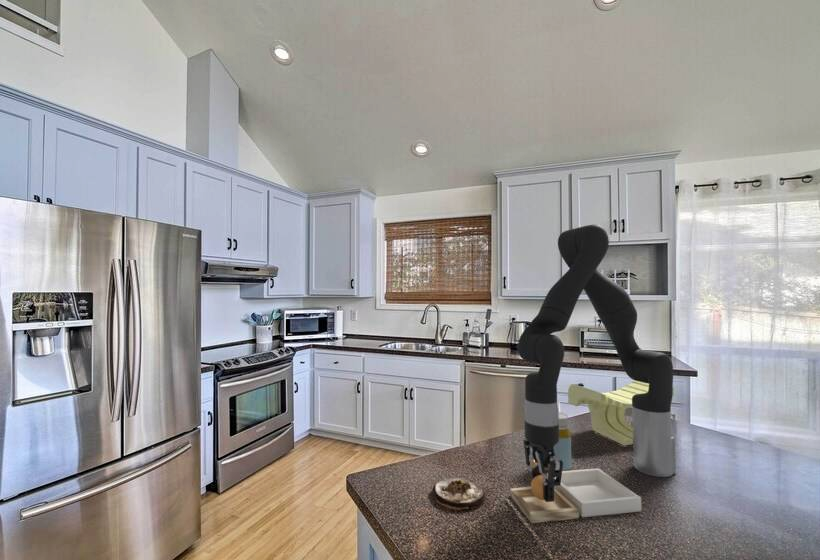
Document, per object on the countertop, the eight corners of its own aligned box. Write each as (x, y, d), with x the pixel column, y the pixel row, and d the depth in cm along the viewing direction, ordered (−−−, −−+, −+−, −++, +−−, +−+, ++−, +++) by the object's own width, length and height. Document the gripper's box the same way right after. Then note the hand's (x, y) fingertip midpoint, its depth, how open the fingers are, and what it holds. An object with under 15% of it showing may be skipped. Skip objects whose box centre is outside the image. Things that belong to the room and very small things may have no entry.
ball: (546, 492, 89) (546, 470, 89) (558, 503, 84) (558, 480, 84) (527, 493, 88) (526, 472, 88) (537, 505, 83) (537, 482, 83)
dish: (598, 481, 98) (598, 468, 98) (641, 513, 84) (641, 497, 84) (547, 486, 96) (547, 472, 96) (582, 519, 81) (582, 503, 82)
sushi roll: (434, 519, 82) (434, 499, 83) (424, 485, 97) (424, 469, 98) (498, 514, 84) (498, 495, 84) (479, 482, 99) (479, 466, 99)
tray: (552, 494, 92) (551, 484, 92) (579, 520, 81) (578, 509, 81) (510, 498, 90) (510, 488, 90) (532, 525, 79) (531, 514, 79)
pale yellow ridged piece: (636, 424, 142) (634, 377, 143) (675, 439, 127) (673, 387, 128) (568, 431, 135) (567, 382, 136) (602, 449, 119) (600, 392, 120)
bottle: (573, 475, 102) (572, 419, 102) (546, 473, 103) (545, 418, 104) (568, 464, 108) (567, 412, 109) (543, 462, 110) (542, 410, 110)
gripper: (574, 429, 80) (576, 510, 79) (540, 409, 94) (541, 478, 93) (542, 431, 79) (543, 513, 78) (512, 411, 93) (513, 480, 92)
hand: (542, 494), depth 86 cm, fingers closed on ball, 5 cm apart
